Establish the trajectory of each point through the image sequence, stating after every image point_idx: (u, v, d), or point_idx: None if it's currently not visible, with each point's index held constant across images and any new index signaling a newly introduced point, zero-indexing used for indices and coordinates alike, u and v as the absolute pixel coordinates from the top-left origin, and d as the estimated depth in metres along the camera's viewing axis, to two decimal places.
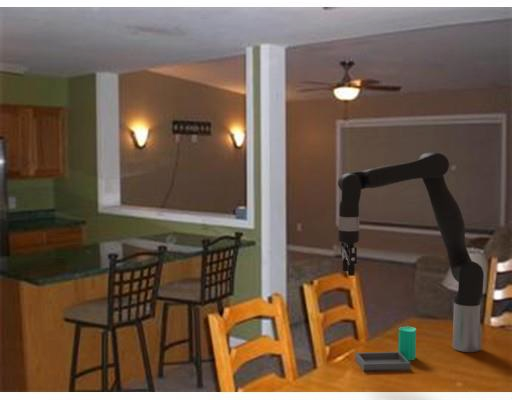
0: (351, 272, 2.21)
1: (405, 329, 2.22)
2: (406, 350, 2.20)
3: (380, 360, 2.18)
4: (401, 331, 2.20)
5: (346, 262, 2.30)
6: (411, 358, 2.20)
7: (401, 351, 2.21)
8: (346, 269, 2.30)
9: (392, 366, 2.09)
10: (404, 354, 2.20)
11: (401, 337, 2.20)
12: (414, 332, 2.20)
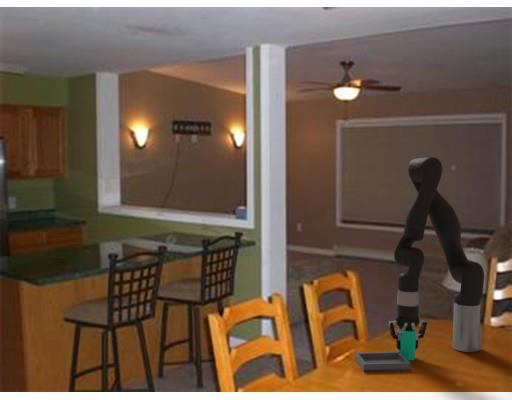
0: None
1: None
2: (406, 350, 2.20)
3: (380, 360, 2.18)
4: None
5: None
6: (411, 358, 2.20)
7: (401, 351, 2.21)
8: None
9: (392, 366, 2.09)
10: (404, 354, 2.20)
11: (401, 337, 2.20)
12: (414, 332, 2.20)
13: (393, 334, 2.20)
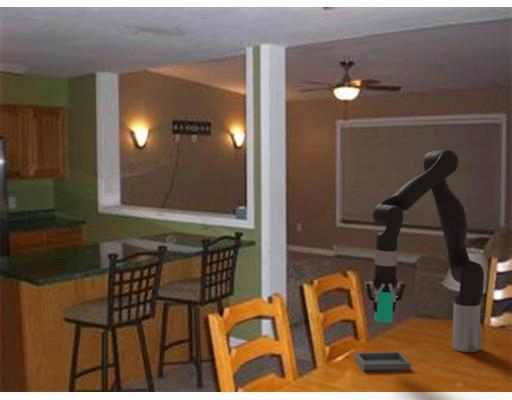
0: None
1: None
2: (382, 311, 2.12)
3: (380, 360, 2.18)
4: None
5: None
6: (387, 320, 2.12)
7: (377, 313, 2.13)
8: None
9: (392, 366, 2.09)
10: (380, 316, 2.12)
11: (378, 298, 2.13)
12: (391, 293, 2.12)
13: (369, 295, 2.12)
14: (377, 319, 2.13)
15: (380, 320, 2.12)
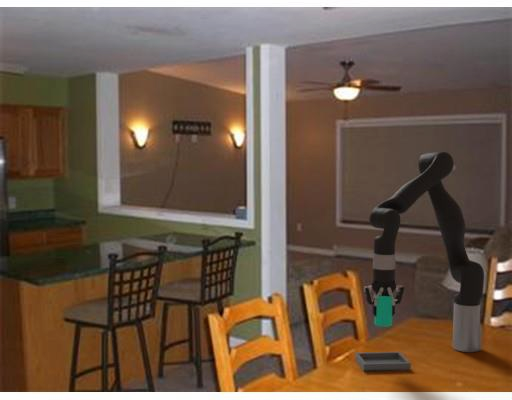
0: None
1: None
2: (382, 315, 2.11)
3: (380, 360, 2.18)
4: None
5: None
6: (387, 324, 2.11)
7: (377, 317, 2.12)
8: None
9: (392, 366, 2.09)
10: (380, 320, 2.11)
11: (377, 302, 2.12)
12: (390, 297, 2.11)
13: (368, 299, 2.11)
14: (377, 323, 2.12)
15: (380, 324, 2.11)
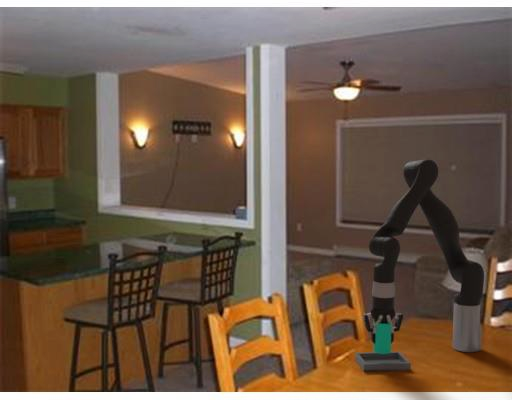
0: None
1: None
2: (381, 343, 2.12)
3: (380, 360, 2.18)
4: None
5: None
6: (386, 352, 2.12)
7: (376, 344, 2.13)
8: None
9: (392, 366, 2.09)
10: (379, 347, 2.12)
11: (376, 330, 2.12)
12: (389, 325, 2.12)
13: (368, 327, 2.12)
14: (376, 350, 2.13)
15: (379, 351, 2.12)
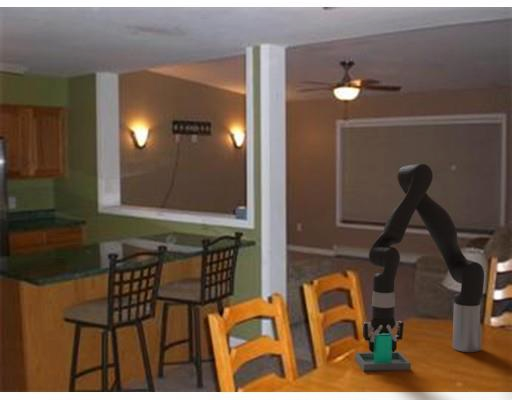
0: None
1: (380, 334, 2.14)
2: (381, 355, 2.12)
3: None
4: None
5: None
6: None
7: (376, 356, 2.13)
8: None
9: (392, 366, 2.09)
10: (379, 360, 2.12)
11: (376, 342, 2.13)
12: (390, 337, 2.12)
13: (366, 335, 2.12)
14: (376, 362, 2.13)
15: None
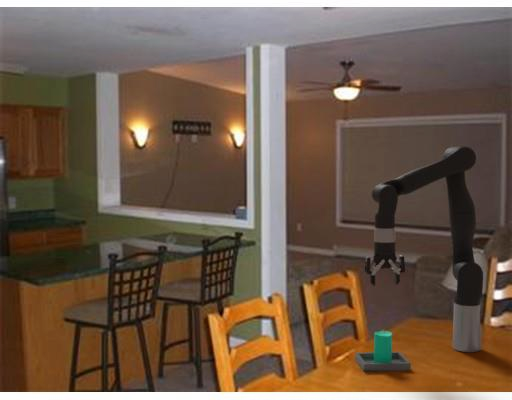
0: None
1: (380, 334, 2.14)
2: (381, 355, 2.12)
3: None
4: (376, 336, 2.13)
5: None
6: None
7: (376, 356, 2.13)
8: None
9: (392, 366, 2.09)
10: (379, 360, 2.12)
11: (376, 342, 2.13)
12: (390, 337, 2.12)
13: (367, 269, 2.22)
14: (376, 362, 2.13)
15: None
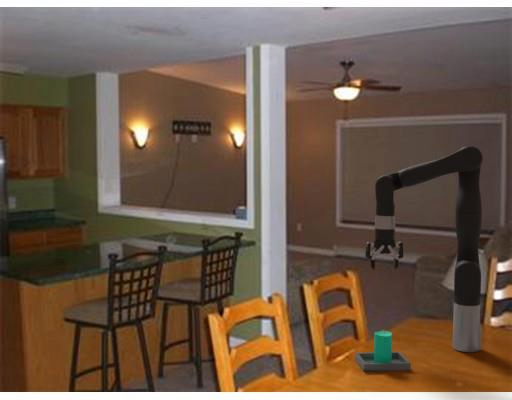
0: None
1: (380, 334, 2.14)
2: (381, 355, 2.12)
3: None
4: (376, 336, 2.13)
5: None
6: None
7: (376, 356, 2.13)
8: None
9: (392, 366, 2.09)
10: (379, 360, 2.12)
11: (376, 342, 2.13)
12: (390, 337, 2.12)
13: (368, 254, 2.38)
14: (376, 362, 2.13)
15: None
